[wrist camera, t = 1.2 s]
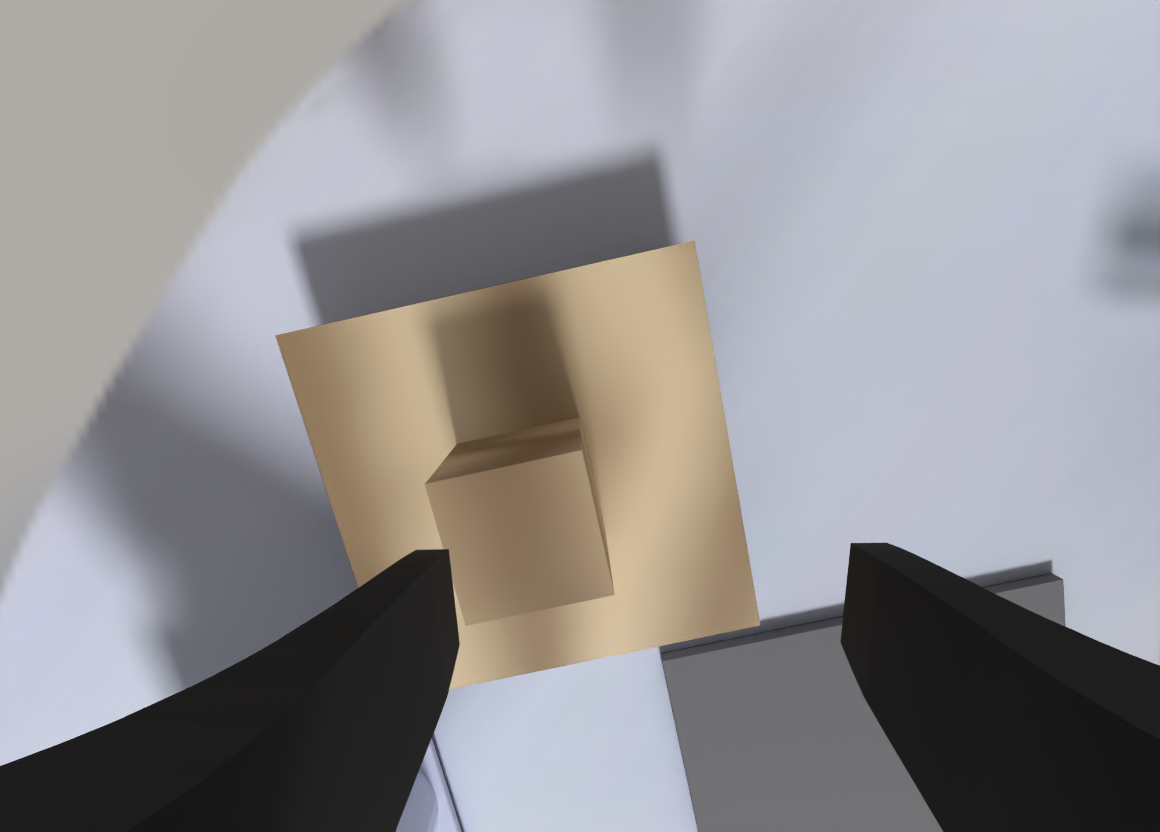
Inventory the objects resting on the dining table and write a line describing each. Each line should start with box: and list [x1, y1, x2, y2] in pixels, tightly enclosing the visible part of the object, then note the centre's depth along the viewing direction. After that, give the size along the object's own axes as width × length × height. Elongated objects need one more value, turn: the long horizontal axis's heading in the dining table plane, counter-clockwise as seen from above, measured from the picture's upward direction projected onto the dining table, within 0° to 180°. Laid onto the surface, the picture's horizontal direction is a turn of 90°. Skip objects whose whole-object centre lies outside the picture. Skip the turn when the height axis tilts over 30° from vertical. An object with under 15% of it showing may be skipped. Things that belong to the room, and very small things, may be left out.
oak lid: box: [276, 241, 760, 689], centre depth 17 cm, size 13×13×5 cm
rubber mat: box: [661, 574, 1065, 832], centre depth 24 cm, size 16×16×1 cm
